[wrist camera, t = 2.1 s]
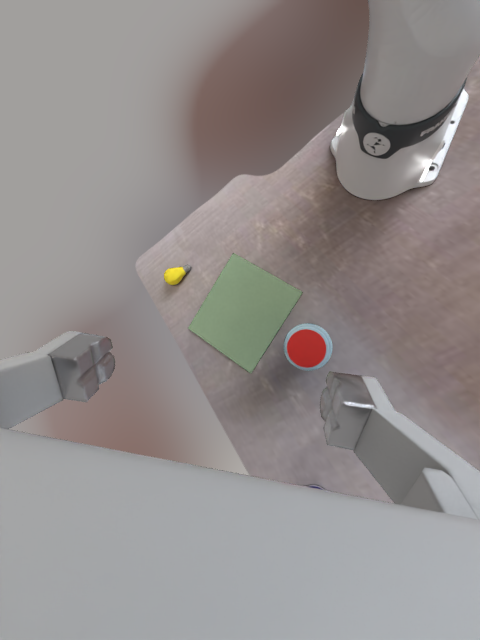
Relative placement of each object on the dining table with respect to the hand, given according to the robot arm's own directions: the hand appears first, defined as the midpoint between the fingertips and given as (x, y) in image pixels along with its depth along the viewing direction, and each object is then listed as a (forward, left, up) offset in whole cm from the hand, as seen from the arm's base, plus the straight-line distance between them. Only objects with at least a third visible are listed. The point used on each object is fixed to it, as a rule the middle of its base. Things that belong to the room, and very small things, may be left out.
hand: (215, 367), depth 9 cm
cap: (-2, +2, -19) cm, 19 cm away
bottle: (-2, +2, -38) cm, 38 cm away
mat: (0, -12, -38) cm, 40 cm away
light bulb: (0, -28, -38) cm, 47 cm away
